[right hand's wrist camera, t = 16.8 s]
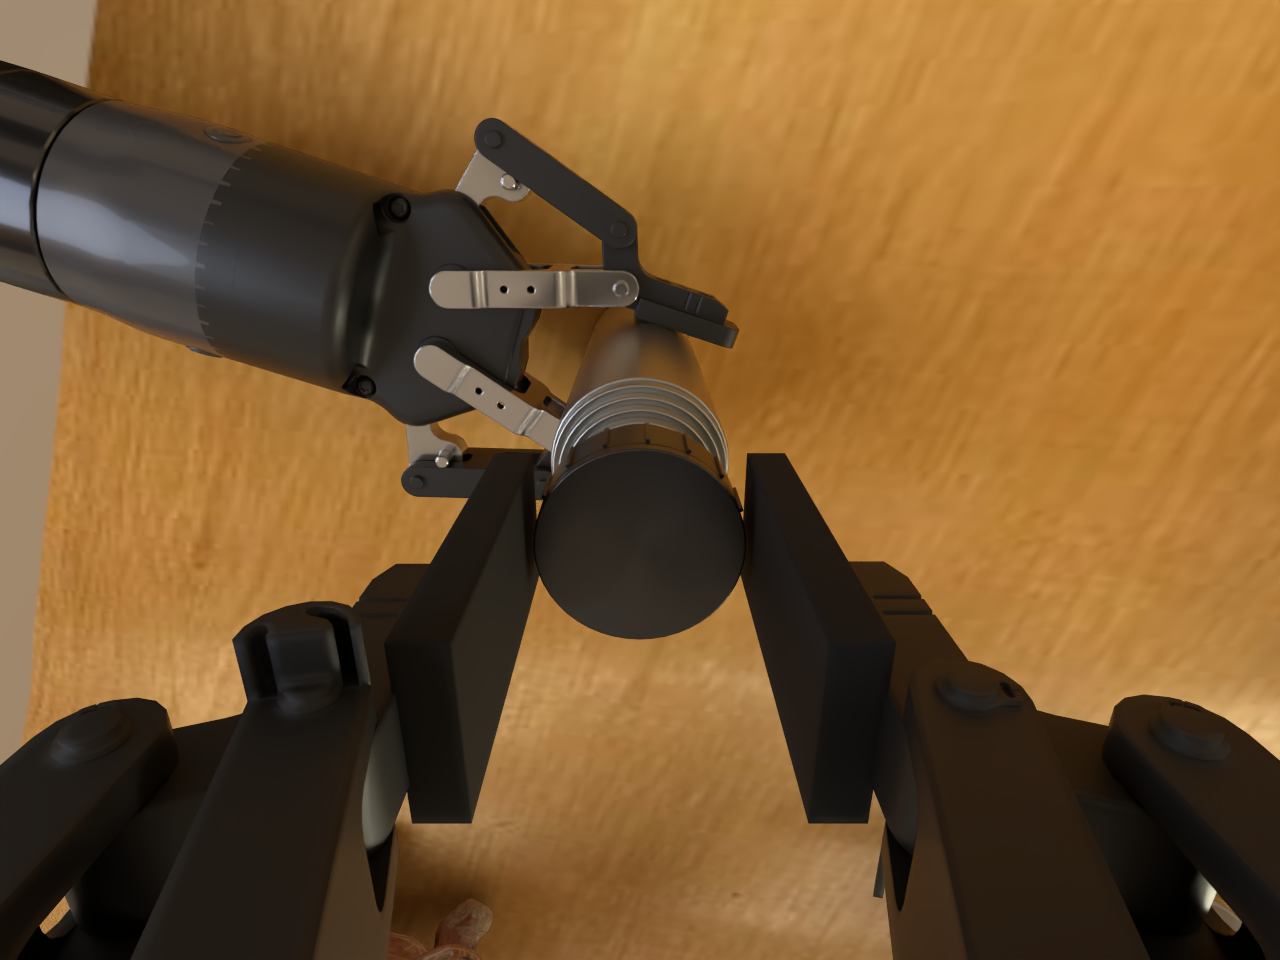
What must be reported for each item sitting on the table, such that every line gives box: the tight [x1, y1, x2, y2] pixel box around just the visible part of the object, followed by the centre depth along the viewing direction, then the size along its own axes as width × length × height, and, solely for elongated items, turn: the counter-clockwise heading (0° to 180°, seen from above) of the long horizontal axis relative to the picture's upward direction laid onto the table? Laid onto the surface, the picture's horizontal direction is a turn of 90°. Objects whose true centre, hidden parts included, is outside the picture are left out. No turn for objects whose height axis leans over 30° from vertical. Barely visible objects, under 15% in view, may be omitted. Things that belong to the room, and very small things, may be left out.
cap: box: [533, 423, 746, 639], centre depth 14 cm, size 4×4×2 cm
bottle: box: [551, 307, 729, 475], centre depth 23 cm, size 4×4×20 cm
